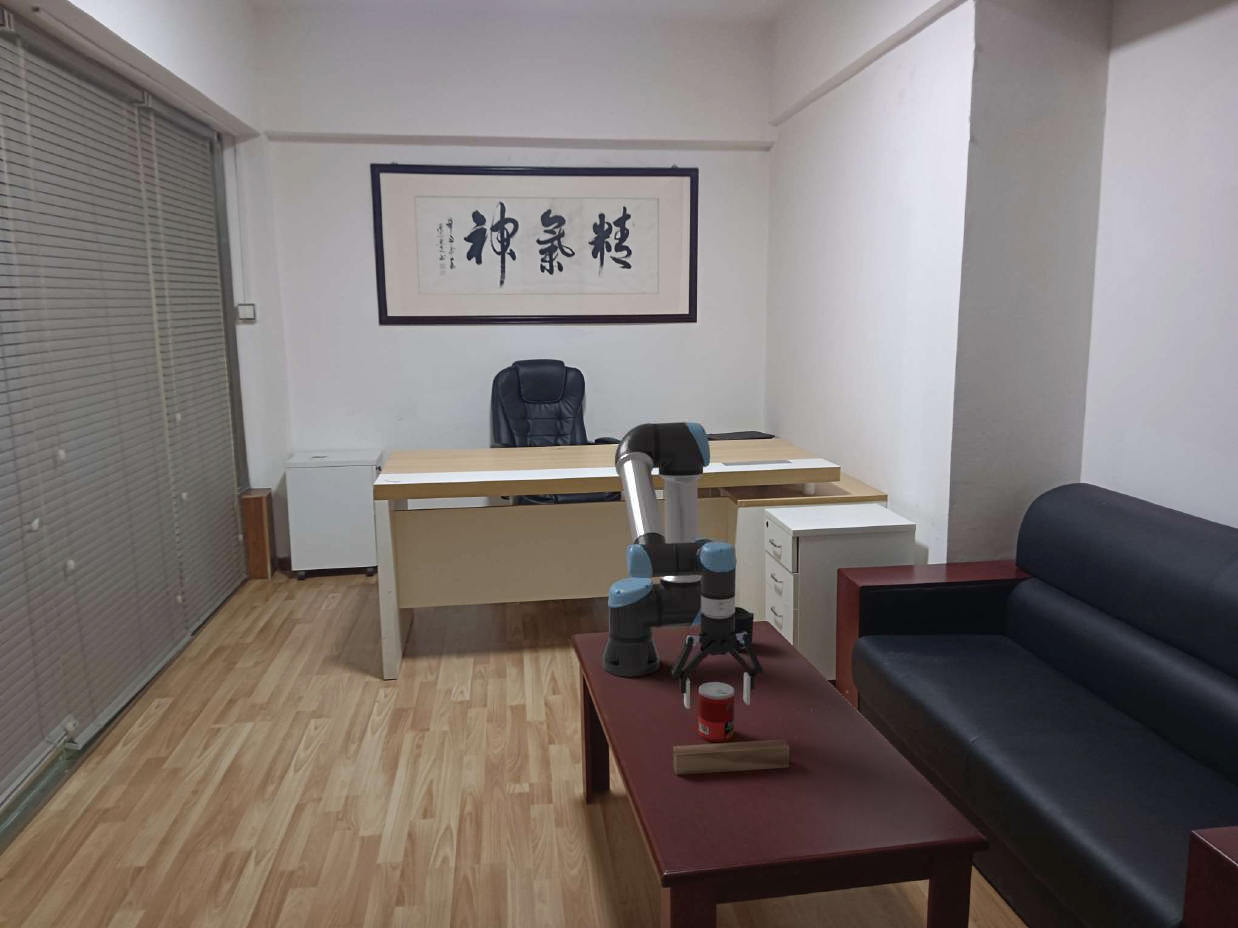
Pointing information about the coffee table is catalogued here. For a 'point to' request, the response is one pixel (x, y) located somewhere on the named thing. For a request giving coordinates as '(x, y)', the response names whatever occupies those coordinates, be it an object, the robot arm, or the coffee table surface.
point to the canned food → (716, 711)
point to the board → (730, 756)
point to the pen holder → (743, 626)
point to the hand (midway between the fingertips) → (716, 704)
